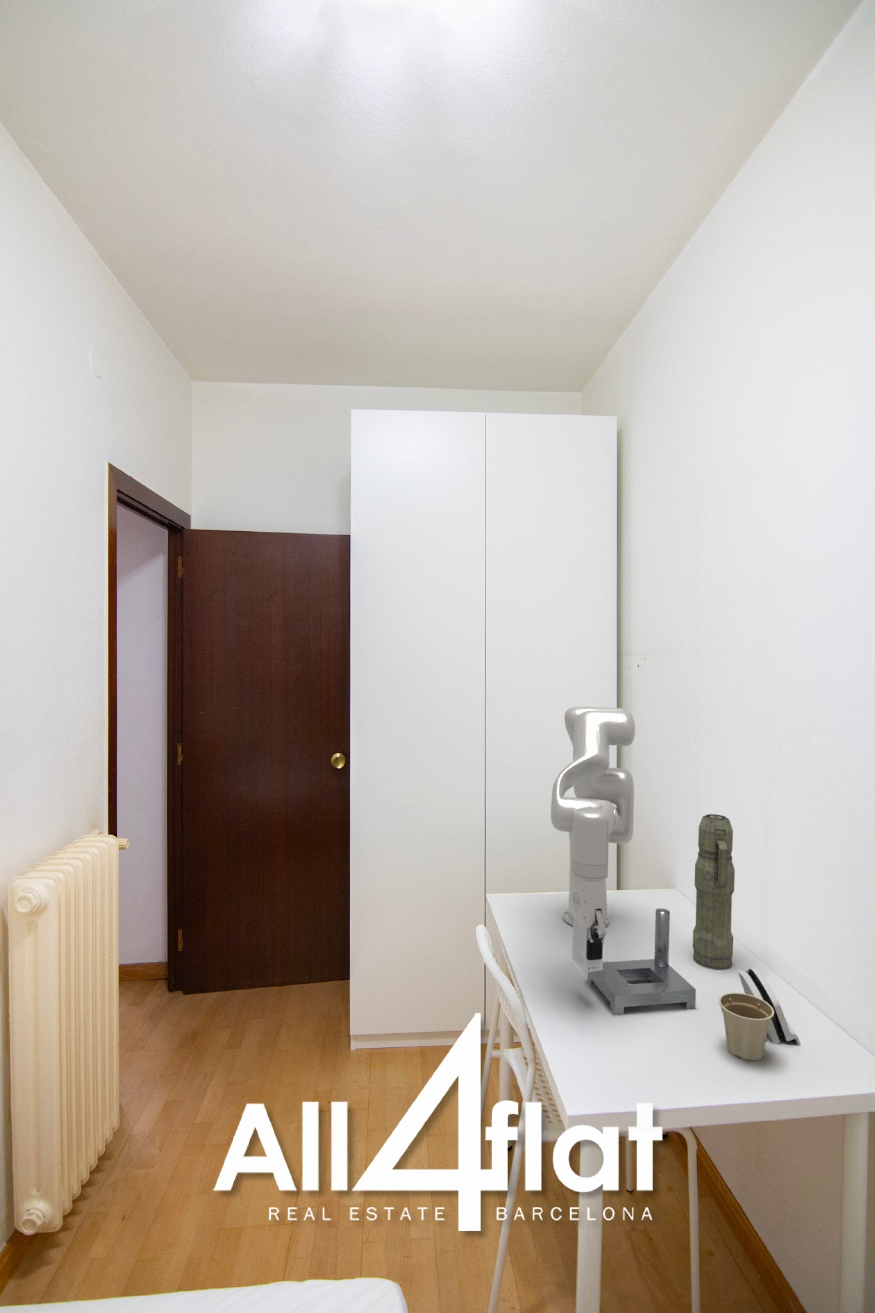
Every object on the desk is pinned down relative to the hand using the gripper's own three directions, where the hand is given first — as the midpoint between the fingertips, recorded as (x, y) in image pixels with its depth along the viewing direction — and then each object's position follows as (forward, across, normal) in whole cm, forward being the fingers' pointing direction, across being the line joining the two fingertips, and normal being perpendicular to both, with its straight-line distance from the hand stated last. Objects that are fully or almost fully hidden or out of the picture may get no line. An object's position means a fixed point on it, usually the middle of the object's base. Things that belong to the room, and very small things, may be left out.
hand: (587, 950), depth 141 cm
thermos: (+12, -13, +37) cm, 41 cm away
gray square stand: (+11, -1, +12) cm, 17 cm away
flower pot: (+11, +21, +22) cm, 33 cm away
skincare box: (+3, 0, 0) cm, 3 cm away
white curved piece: (+11, +12, +33) cm, 37 cm away
